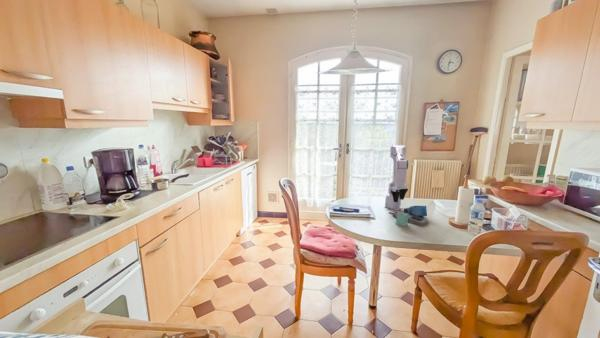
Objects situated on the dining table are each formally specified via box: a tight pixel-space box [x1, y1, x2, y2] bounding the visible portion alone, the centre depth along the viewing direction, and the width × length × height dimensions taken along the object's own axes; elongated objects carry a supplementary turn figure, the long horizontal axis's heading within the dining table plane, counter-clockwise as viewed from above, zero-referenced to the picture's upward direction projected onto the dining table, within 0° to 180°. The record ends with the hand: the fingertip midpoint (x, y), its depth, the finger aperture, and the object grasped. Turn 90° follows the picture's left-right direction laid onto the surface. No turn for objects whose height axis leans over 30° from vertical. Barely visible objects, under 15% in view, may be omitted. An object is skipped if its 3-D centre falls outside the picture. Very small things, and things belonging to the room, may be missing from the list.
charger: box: [395, 211, 409, 228], centre depth 140 cm, size 5×4×7 cm
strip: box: [388, 210, 429, 227], centre depth 148 cm, size 22×7×3 cm, turn 41°
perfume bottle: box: [403, 205, 428, 217], centre depth 151 cm, size 6×6×12 cm
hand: (398, 200), depth 150 cm, fingers open, 7 cm apart
